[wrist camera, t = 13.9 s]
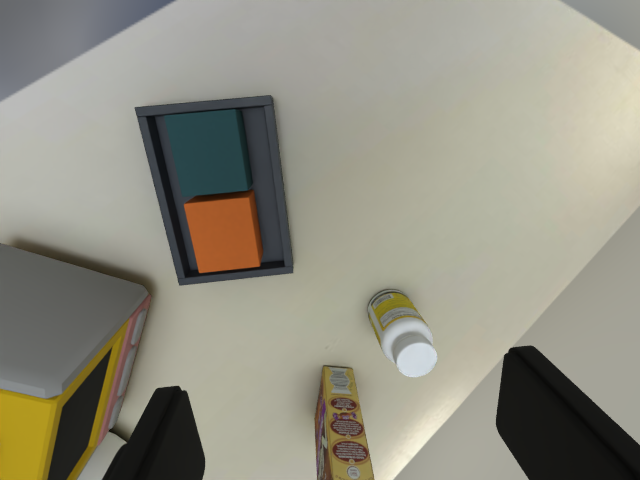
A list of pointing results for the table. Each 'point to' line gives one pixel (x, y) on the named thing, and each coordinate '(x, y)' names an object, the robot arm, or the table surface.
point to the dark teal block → (210, 152)
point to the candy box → (340, 429)
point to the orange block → (225, 231)
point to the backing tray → (265, 188)
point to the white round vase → (102, 458)
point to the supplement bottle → (402, 333)
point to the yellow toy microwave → (61, 362)
